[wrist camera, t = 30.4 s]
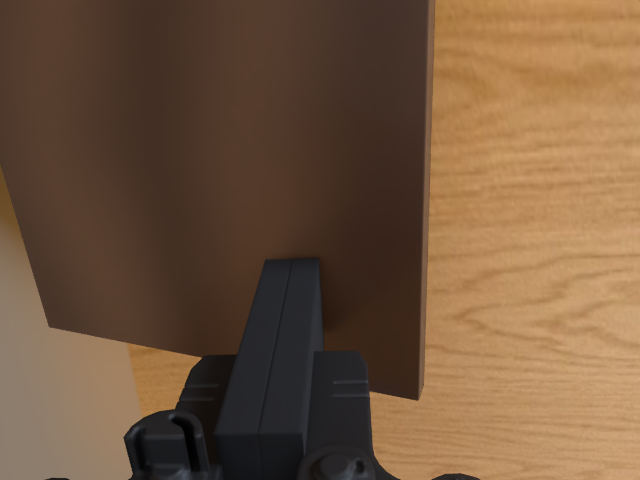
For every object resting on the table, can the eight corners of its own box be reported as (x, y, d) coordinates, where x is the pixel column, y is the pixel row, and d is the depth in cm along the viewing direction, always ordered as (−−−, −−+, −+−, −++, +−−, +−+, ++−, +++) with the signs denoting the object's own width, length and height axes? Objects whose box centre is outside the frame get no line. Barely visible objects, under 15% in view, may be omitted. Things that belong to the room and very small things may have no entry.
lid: (449, -471, 9) (442, -505, 9) (424, 384, 17) (418, 401, 16) (-106, -285, 14) (-139, -298, 14) (64, 316, 22) (48, 327, 21)
